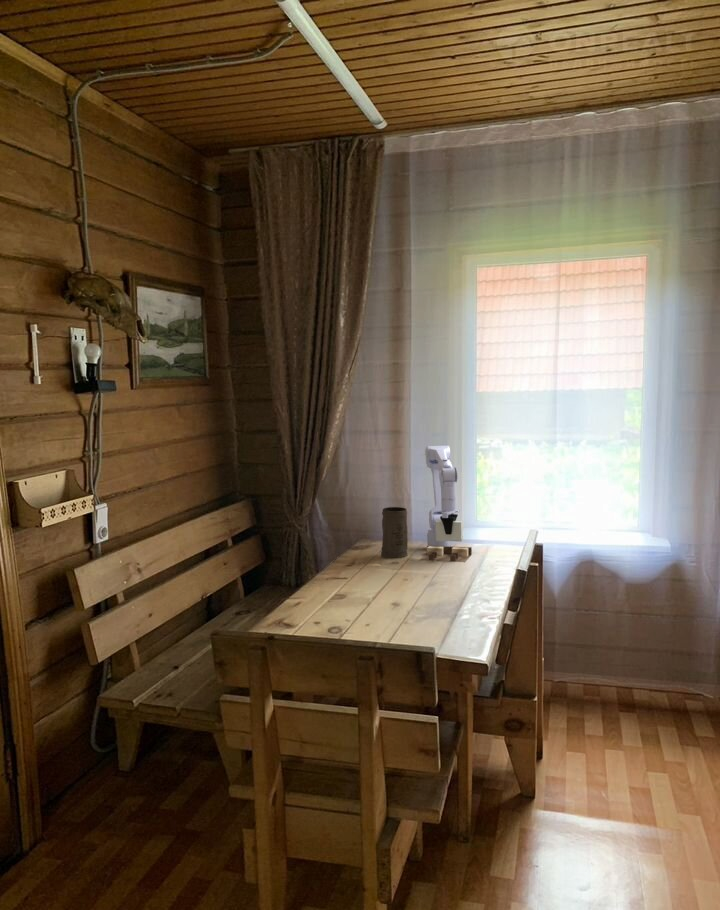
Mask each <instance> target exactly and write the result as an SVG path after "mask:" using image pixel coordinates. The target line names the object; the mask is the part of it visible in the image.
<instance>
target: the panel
mask: <svg viewBox="0 0 720 910" xmlns="http://www.w3.org/2000/svg"><path fill="white" fill-rule="evenodd" d="M463 525H464V524H463V521H462V520H456V521H454V522H453V526H452V533H451V535H447V534H446V533H445V529H444V525H443V523H442V521H436V541H451V542H459V543H460V542H463V541H464V534H463V533H464V532H463V531H464V530H463V528H464V527H463Z"/></svg>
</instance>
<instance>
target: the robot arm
mask: <svg viewBox="0 0 720 910" xmlns="http://www.w3.org/2000/svg"><path fill="white" fill-rule="evenodd" d="M424 451H425V453H424V455H425V465H426V467H427V468H430V471H431V474H432V485H433V499H434V506H433V507H432V508H431V509H430V510H429V512H428V524H429V525H428V526H429V528H430V529H428V530H427V535H426V536H427V537H426V539H427V540H426V541H427V543H426V544H427V545H426V547H427V546H452V544H451V543H452V541H436V521H442V523H443V525H444V529H445V533H446V534H447V535H451V533H452V526H453V522H454V521H457V518H458V516H459V515H458V514H457V513H460V510H459V509H457V485H456V483H457V482H458V471H457V467H454V466H453V463H452V462H451V460H450V459H451V448H450V446H449V445H448V444H447V445H427V446H425V450H424Z"/></svg>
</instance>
